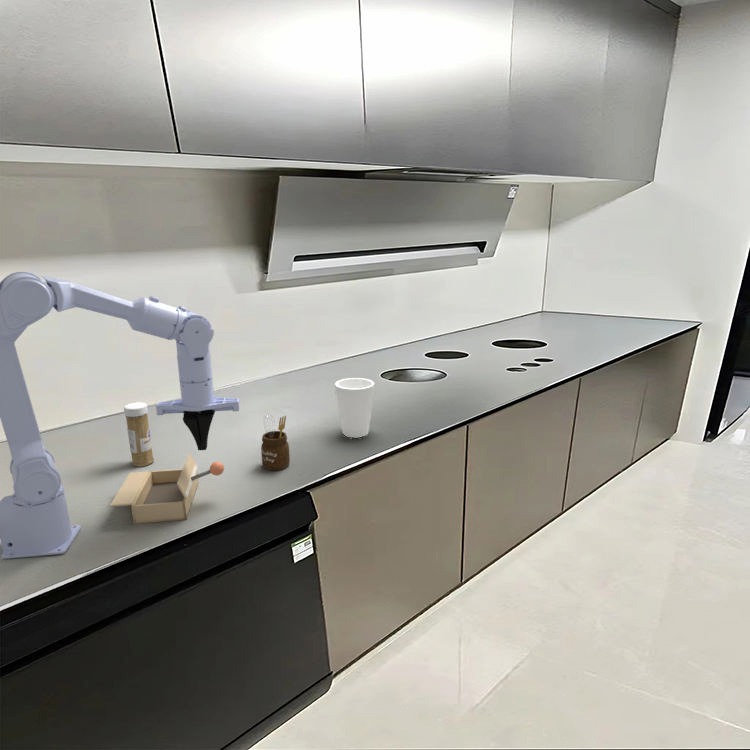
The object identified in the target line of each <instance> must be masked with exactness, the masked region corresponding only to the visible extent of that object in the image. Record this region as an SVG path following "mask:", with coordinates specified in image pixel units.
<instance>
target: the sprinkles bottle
mask: <svg viewBox="0 0 750 750" xmlns="http://www.w3.org/2000/svg"><path fill="white" fill-rule="evenodd" d="M123 410H124V411H123V412H124V415H125V418H126V426H127V435H128V443H129V450H130V454H131V464H132V465H133V466H134V467H137V468H138V467H145V466H146V467H147V466H149V465H151V464H152V463H154V461H155V459H154V455H153V446H152V445H153V444H152V437H151V432H150V431H151V430H150V426H149V418H148V411H149V410H148V405H147V403H146V402H139V401H137V402H132V403H129V404H126V405H124V407H123Z"/></svg>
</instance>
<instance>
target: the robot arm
mask: <svg viewBox="0 0 750 750" xmlns="http://www.w3.org/2000/svg"><path fill="white" fill-rule="evenodd" d="M41 278H43V279H44V280H45V282H44V281H43V280H42V279H41ZM41 278H40V277H39V276H37V275H36V274H34V273H32V272H31V273H30V272H29V271H16V272H12V273H10V274H9V275H7V276H6V277H4V278H2V280H1V281H0V422H1V425H2V428H3V432H4V436H5V438H6V442H7V444H8V448H9V451H10V455H11V460H10V464H9V470H10V474H11V476H12V482H13V487H12V488H13V493H12V494H10V495H6V496H4V497H2V498H1V499H0V545H1V549H2V554H1V556H0V557H1V560H5V559H17V558H28V557H39V556H40V557H41V556H51V555H63V554H65V553H67V551H68V549H69V548H70V546H71V545H72V543H73V541H74V539H76V537H77V536H78V534H79V532H80V531H81V529H82V526H81V525H78V524H77V525H71V519H70V514H69V508H68V504H67V503H68V501H67V497H66V492H65V486H64V484H63V483H62V477H61V475H60V473H59V472H58V471H57V467H56V465H55V459H54V456H53V455H52V453H51V452H50V451H49V450H48V449H47V448H46V447H45V445H44V443H43V442H44V441H43V440H42V439H43V438H42V436H41V432H40V431H41V430H40V427H39V424H38V421H37V418H36V414H35V411H34V408H33V403H32V401H31V398H30V394H29V390H28V387H27V383H26V379H25V375H24V373H23V372H24V371H23V369H22V366H21V363H20V359H19V355H18V352H17V348H16V345H15V344H16V343H15V342H16V341H17V340H18V338H20V336H21V335H22V334H23V332H25V331H26V330H27V328H28V327H30V325H32V324H35V323H37V322H38V321H40V320H42V319H43V318H45V317H46V316H47V315H48V314H49V313H51V311H52V309H53V308H54V310H56V312H58V313H60V312H64V311H67V310H70V309H74V308H79V309H83V310H86V311H91V312H94V313H98V314H103V315H106V316H110V317H115V318H118V319H122V320H126V321H127V323H128V325H129V326H130V328H131V330H133V331H136V332H140V333H143V334H147V335H150V336H153V337H158V338H160V339H161V338H162V339H165V340H167V341H172V340H175V341H176V342H175V344H176V359H177V370H178V378H179V379H178V380H179V387H180V395H181V396H180V398H181V399H175V400H167V401H158V402H157V404H156V405H155V408H156V409H155V410H156V416H163V415H168V414H169V415H170V414H183V415H182V421H183V423H184V425H186V427H187V428H188V430H189V431H190V433H191V435H192V437H193V439H194V441H195V444H196V447H197V450H198V451H206V450H207V447H208V439H209V432H210V429H211V425H212V421H213V419H214V415H215V413H216V412H227V411H233V412H240V409H241V405H240V404H241V401H240V398H239V397H237V398H234V397H233V398H231V397H217V396H215V392H214V380H213V379H214V378H213V369H212V367H213V366H212V356H211V349H210V342H212V340H213V337H214V334H215V329H213V328H212V325H211V323H210V322H209V320H208V319H207V318H205V317H204V316H203V315H200V314H197V313H195V312H192V311H191V310H189V309H187V308H186V307H184V306H182V305H179V306H178V307H175V306H172V305H169V304H167V303H163V302H160V298H159V297H156V296H153V295H150V296H149V297H143V296H142V297H139V298H138V299H135V300H133V301H132V300H131V301H130V300H126V299H124V298H121V297H118V296H115V295H112V294H110V293H107V292H103V291H100V290H97V289H96V288H95V289H94V288H92V287H89V286H86V285H84V284H79V283H77V282H74V281H71V280H66V279H61V278H56V277H52V276H51V277H50V276H46V275H41Z"/></svg>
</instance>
